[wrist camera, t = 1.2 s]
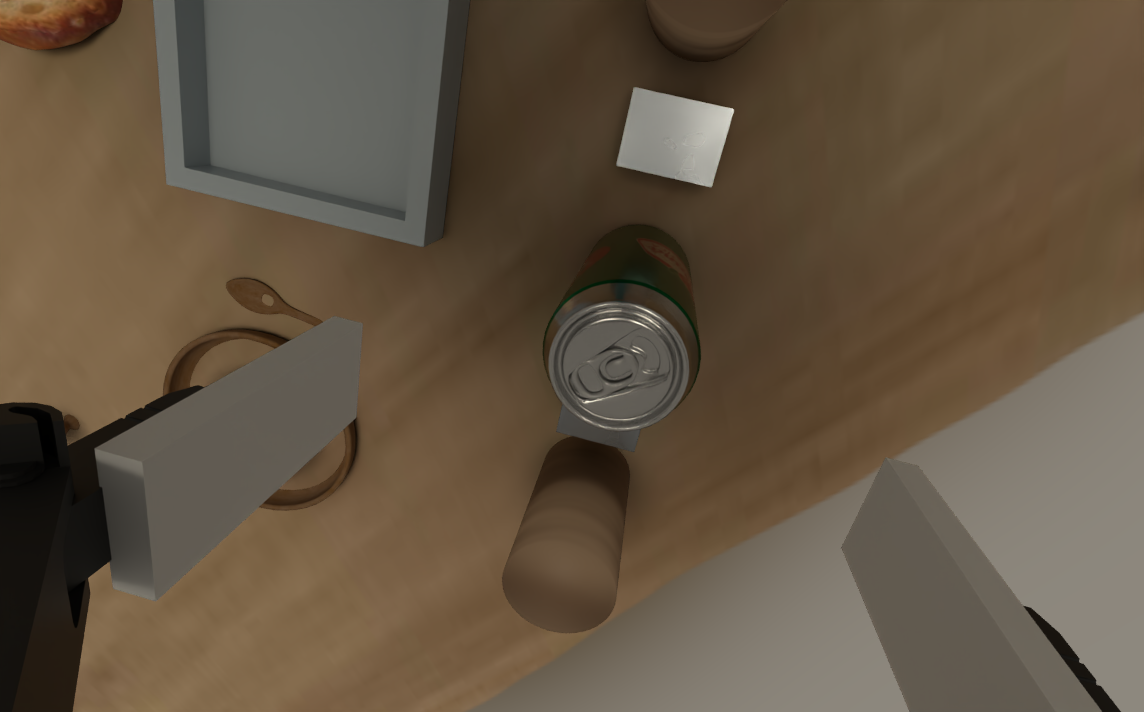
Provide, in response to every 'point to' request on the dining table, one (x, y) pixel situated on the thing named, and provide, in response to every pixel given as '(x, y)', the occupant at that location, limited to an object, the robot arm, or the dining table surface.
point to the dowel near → (708, 25)
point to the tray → (315, 107)
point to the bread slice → (54, 21)
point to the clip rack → (671, 149)
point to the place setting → (251, 298)
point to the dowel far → (570, 539)
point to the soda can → (625, 332)
